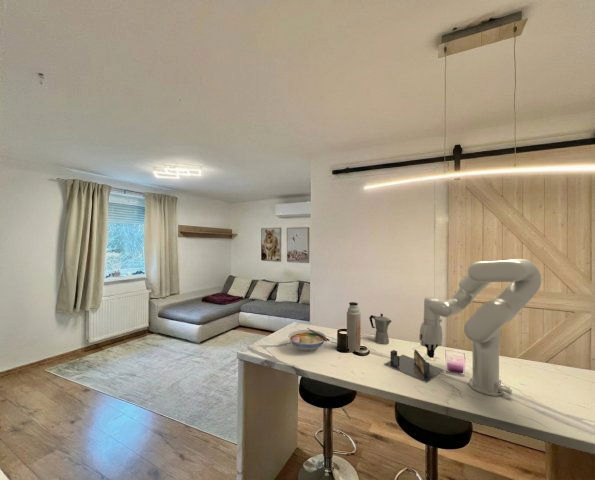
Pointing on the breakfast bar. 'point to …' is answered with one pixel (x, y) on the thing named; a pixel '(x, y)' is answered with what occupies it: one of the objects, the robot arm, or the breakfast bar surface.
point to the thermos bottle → (354, 327)
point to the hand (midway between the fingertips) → (430, 356)
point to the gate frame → (413, 367)
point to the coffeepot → (381, 328)
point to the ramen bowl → (307, 339)
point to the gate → (419, 360)
